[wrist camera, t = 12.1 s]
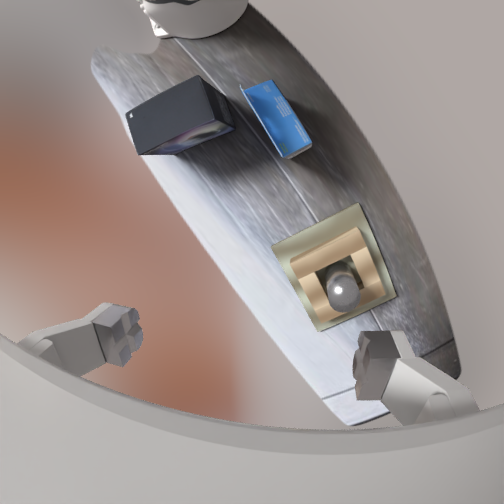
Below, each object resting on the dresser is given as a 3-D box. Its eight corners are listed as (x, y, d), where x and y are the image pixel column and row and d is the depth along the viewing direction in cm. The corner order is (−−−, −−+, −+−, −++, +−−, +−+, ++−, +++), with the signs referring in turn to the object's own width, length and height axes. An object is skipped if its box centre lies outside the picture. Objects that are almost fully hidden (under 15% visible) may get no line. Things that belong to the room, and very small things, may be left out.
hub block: (271, 245, 41) (268, 252, 38) (357, 202, 36) (362, 205, 33) (317, 329, 44) (318, 340, 40) (395, 294, 39) (401, 303, 36)
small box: (173, 158, 39) (136, 158, 29) (161, 121, 38) (122, 112, 28) (237, 131, 36) (215, 120, 27) (223, 92, 35) (197, 71, 25)
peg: (325, 259, 39) (330, 282, 31) (352, 261, 38) (363, 283, 31) (323, 285, 40) (326, 312, 33) (349, 286, 39) (358, 313, 32)
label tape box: (313, 147, 35) (318, 138, 24) (287, 160, 37) (280, 158, 25) (280, 94, 34) (270, 65, 22) (255, 108, 35) (234, 85, 23)
